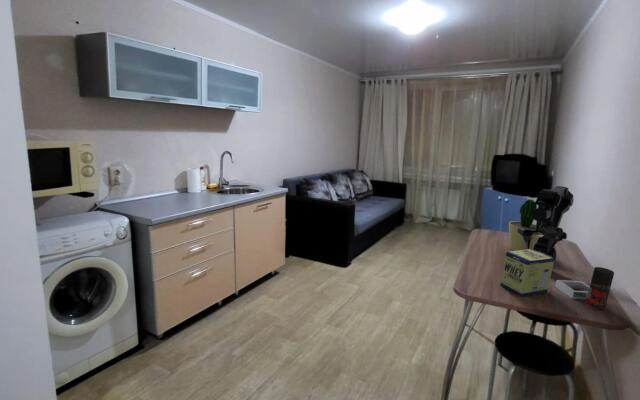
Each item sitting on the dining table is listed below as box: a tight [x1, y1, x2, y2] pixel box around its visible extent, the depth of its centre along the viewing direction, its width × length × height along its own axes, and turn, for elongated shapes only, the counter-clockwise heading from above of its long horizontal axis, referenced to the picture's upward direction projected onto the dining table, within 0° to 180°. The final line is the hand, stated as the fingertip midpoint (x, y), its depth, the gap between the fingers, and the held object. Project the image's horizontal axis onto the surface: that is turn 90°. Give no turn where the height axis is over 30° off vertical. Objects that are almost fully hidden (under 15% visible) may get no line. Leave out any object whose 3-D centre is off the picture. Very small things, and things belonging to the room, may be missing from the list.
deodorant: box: [585, 266, 615, 311], centre depth 132 cm, size 6×6×15 cm
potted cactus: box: [508, 198, 539, 251], centre depth 190 cm, size 15×15×30 cm
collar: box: [555, 279, 590, 300], centre depth 144 cm, size 11×11×3 cm
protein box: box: [500, 249, 555, 297], centre depth 144 cm, size 10×16×16 cm
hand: (538, 250), depth 157 cm, fingers open, 9 cm apart
